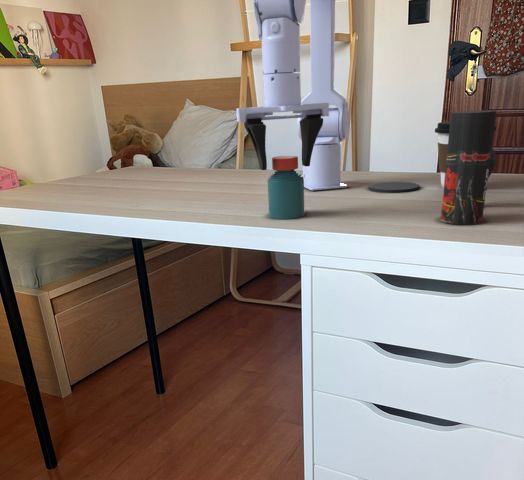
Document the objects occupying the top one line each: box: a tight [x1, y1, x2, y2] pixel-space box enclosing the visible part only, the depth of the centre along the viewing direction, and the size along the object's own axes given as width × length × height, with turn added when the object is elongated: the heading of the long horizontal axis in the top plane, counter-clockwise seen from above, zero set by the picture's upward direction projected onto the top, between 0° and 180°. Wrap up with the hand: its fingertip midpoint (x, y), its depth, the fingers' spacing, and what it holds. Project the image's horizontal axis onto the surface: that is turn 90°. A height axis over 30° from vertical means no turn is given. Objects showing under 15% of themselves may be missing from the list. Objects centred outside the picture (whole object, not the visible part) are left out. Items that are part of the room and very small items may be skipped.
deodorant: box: [440, 109, 497, 226], centre depth 76 cm, size 6×6×15 cm
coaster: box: [368, 181, 420, 194], centre depth 108 cm, size 10×10×1 cm
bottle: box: [267, 169, 305, 220], centre depth 88 cm, size 6×6×9 cm
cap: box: [271, 155, 299, 171], centre depth 86 cm, size 4×4×2 cm
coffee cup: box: [434, 120, 497, 190], centre depth 102 cm, size 11×11×12 cm
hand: (284, 167), depth 86 cm, fingers open, 7 cm apart
